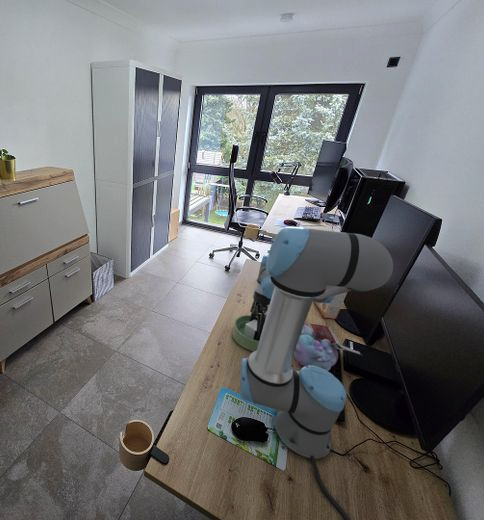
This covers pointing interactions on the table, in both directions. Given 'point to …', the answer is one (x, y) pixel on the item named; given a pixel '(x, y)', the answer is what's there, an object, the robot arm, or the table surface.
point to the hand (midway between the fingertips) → (253, 336)
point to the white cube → (250, 329)
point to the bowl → (239, 331)
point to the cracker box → (332, 306)
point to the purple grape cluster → (318, 347)
